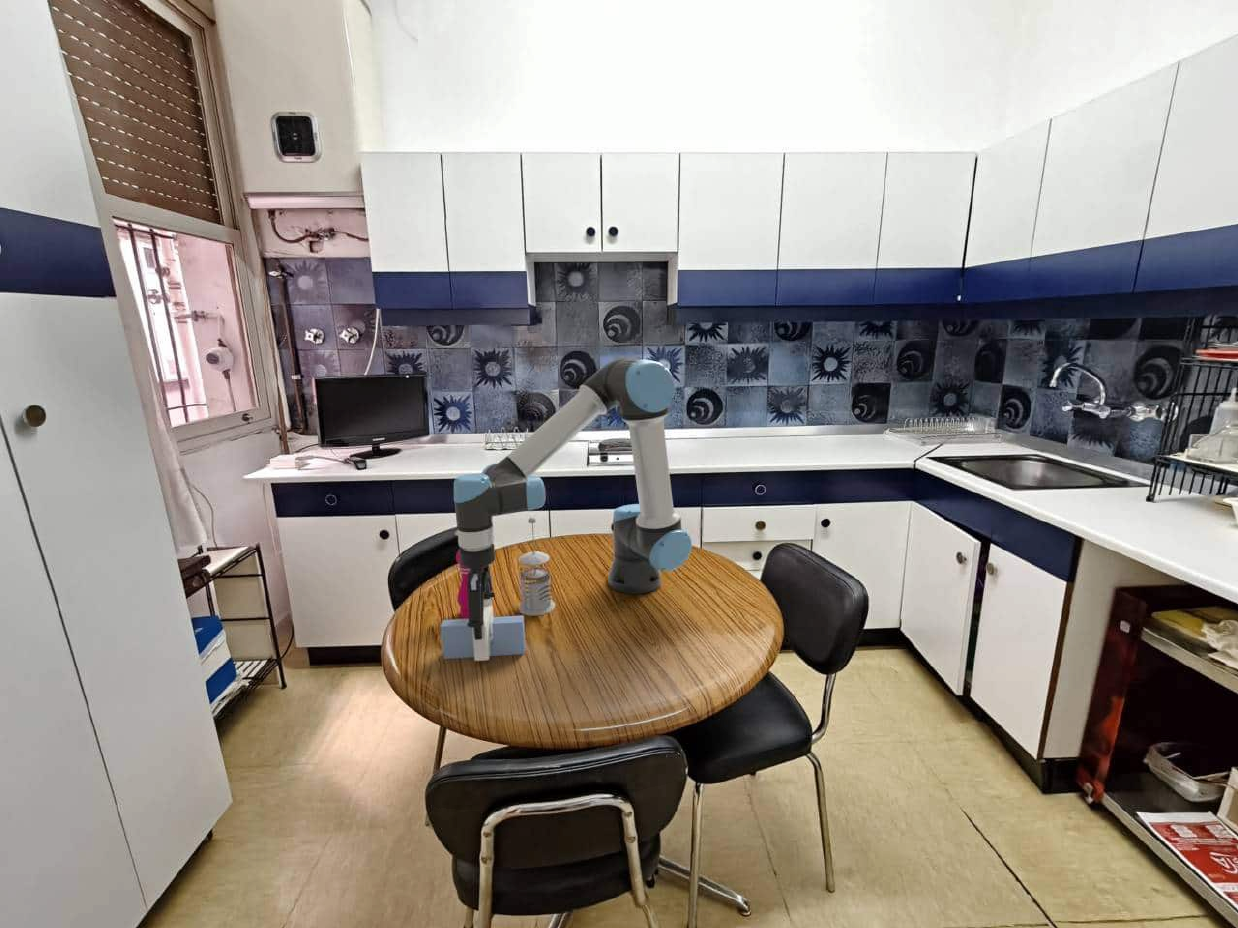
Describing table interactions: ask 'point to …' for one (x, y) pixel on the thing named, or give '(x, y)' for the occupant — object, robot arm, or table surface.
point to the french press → (538, 593)
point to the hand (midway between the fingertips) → (484, 636)
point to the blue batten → (503, 642)
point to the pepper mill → (463, 589)
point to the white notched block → (489, 633)
